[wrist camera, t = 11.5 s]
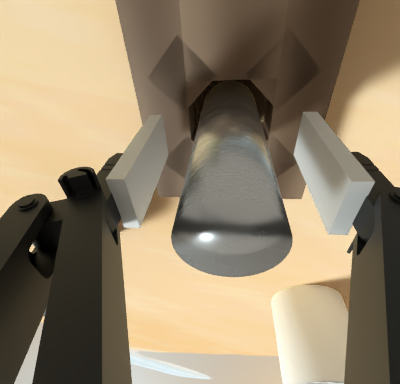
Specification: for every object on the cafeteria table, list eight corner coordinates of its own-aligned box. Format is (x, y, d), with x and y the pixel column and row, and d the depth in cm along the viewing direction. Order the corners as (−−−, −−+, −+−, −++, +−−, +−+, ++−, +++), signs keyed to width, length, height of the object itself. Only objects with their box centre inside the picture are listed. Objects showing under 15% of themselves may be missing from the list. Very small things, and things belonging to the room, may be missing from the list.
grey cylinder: (204, 133, 19) (178, 274, 9) (201, 81, 17) (162, 198, 7) (253, 132, 19) (281, 279, 9) (258, 79, 16) (305, 201, 6)
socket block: (165, 176, 22) (158, 196, 20) (54, -435, 7) (-24, -633, 5) (293, 177, 21) (301, 198, 19) (472, -557, 6) (620, -893, 4)
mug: (372, 309, 35) (417, 404, 26) (315, 328, 40) (337, 411, 32) (310, 275, 31) (340, 375, 23) (256, 302, 37) (265, 388, 28)
